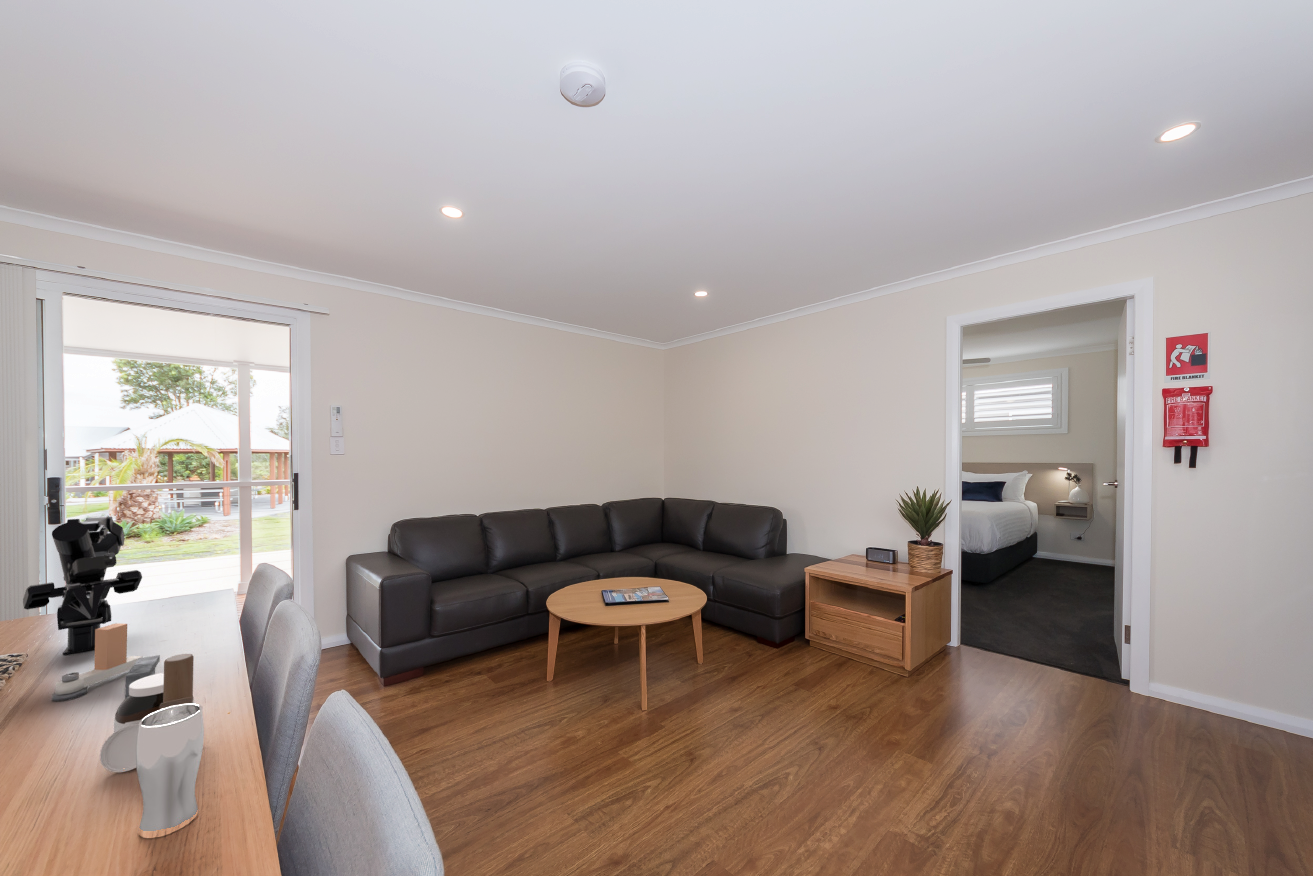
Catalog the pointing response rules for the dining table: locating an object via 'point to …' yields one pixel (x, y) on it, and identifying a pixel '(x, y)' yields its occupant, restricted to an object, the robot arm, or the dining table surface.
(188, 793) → the beer glass
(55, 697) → the pintle plate
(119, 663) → the link
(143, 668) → the dark grey block
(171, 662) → the wooden block
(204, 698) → the dining table surface
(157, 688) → the spread jar
